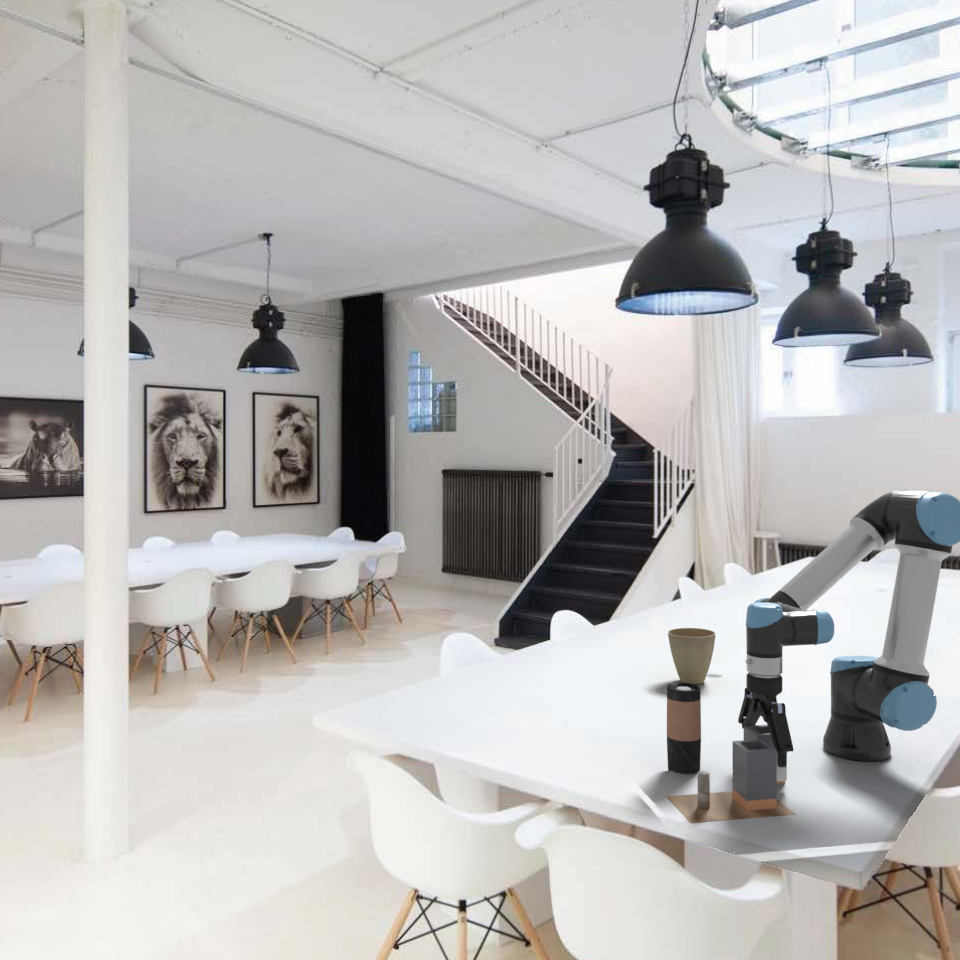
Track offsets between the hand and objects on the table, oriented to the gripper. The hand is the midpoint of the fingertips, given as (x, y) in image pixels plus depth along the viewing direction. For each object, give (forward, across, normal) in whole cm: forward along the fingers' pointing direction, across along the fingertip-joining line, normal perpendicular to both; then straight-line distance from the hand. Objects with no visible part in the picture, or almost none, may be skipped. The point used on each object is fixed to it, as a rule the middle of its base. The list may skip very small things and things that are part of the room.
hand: (764, 769), depth 187 cm
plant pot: (+3, -82, +18) cm, 84 cm away
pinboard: (+3, +12, -14) cm, 19 cm away
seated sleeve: (+2, +12, -8) cm, 15 cm away
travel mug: (+3, -9, -15) cm, 18 cm away
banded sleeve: (+3, 0, 0) cm, 3 cm away
